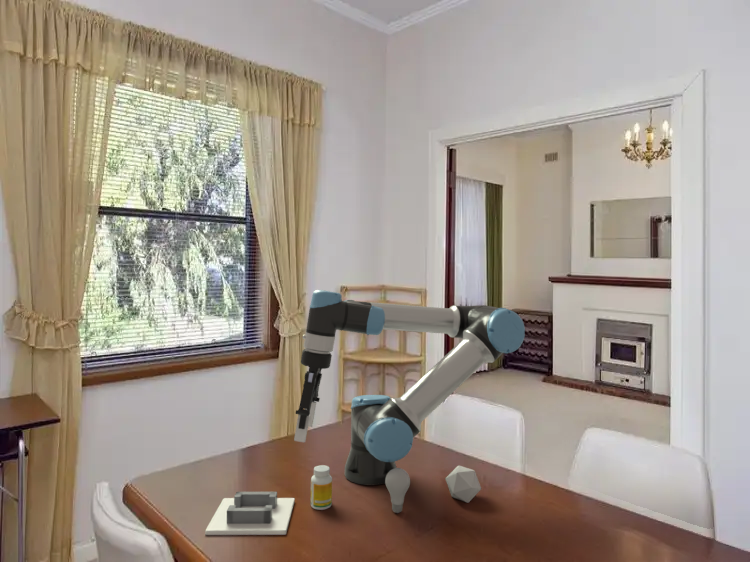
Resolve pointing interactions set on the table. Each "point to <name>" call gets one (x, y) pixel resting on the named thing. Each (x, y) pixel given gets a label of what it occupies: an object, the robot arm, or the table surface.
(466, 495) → the die
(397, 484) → the lightbulb
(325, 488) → the supplement bottle
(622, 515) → the table surface
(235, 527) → the socket
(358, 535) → the table surface
